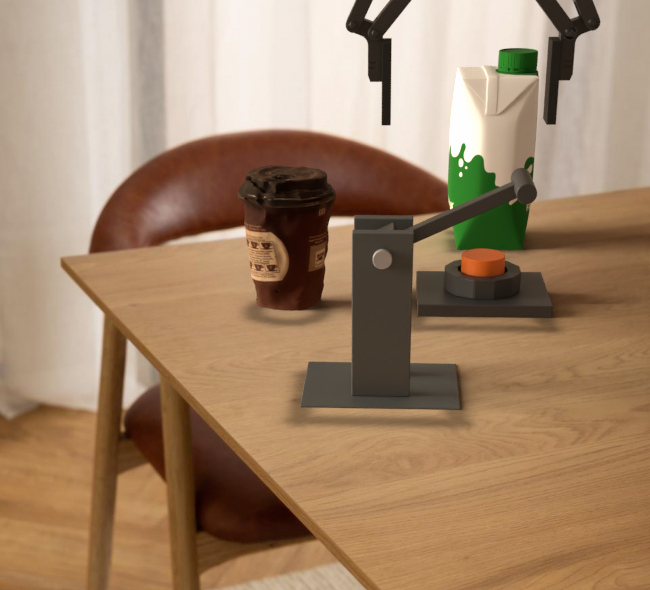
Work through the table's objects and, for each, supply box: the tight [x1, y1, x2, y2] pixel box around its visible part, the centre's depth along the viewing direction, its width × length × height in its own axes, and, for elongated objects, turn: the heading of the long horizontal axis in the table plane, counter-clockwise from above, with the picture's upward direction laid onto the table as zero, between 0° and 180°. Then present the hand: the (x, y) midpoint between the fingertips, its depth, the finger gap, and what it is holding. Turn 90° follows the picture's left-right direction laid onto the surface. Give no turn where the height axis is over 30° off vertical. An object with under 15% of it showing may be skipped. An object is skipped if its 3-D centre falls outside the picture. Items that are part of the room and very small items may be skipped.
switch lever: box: [377, 168, 538, 244], centre depth 86 cm, size 13×5×2 cm, turn 87°
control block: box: [415, 259, 554, 319], centre depth 110 cm, size 12×10×4 cm
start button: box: [460, 248, 506, 277], centre depth 109 cm, size 4×4×2 cm
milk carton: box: [447, 47, 540, 251], centre depth 126 cm, size 9×9×20 cm
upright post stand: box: [299, 214, 461, 411], centre depth 90 cm, size 12×9×14 cm
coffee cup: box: [237, 164, 337, 312], centre depth 108 cm, size 9×8×13 cm
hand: (467, 122), depth 99 cm, fingers open, 13 cm apart
